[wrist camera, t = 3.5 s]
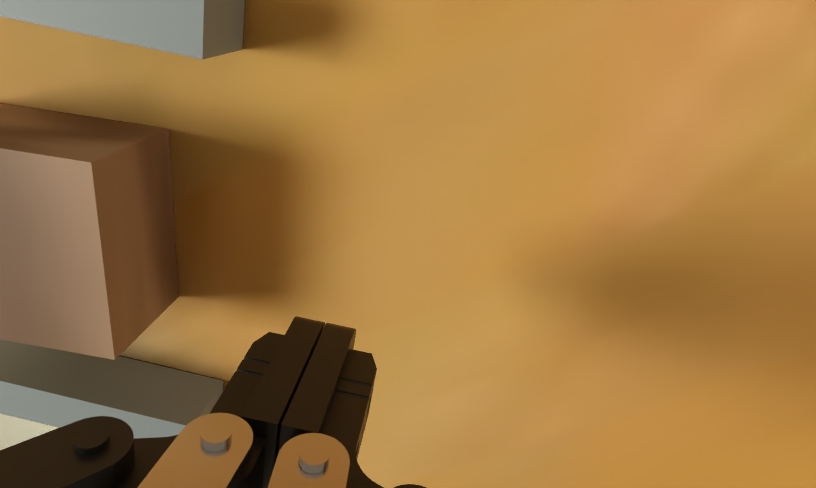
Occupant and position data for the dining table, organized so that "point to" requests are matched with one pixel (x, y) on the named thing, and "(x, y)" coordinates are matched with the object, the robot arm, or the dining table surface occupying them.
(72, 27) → the channel
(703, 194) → the dining table surface
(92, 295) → the walnut block
